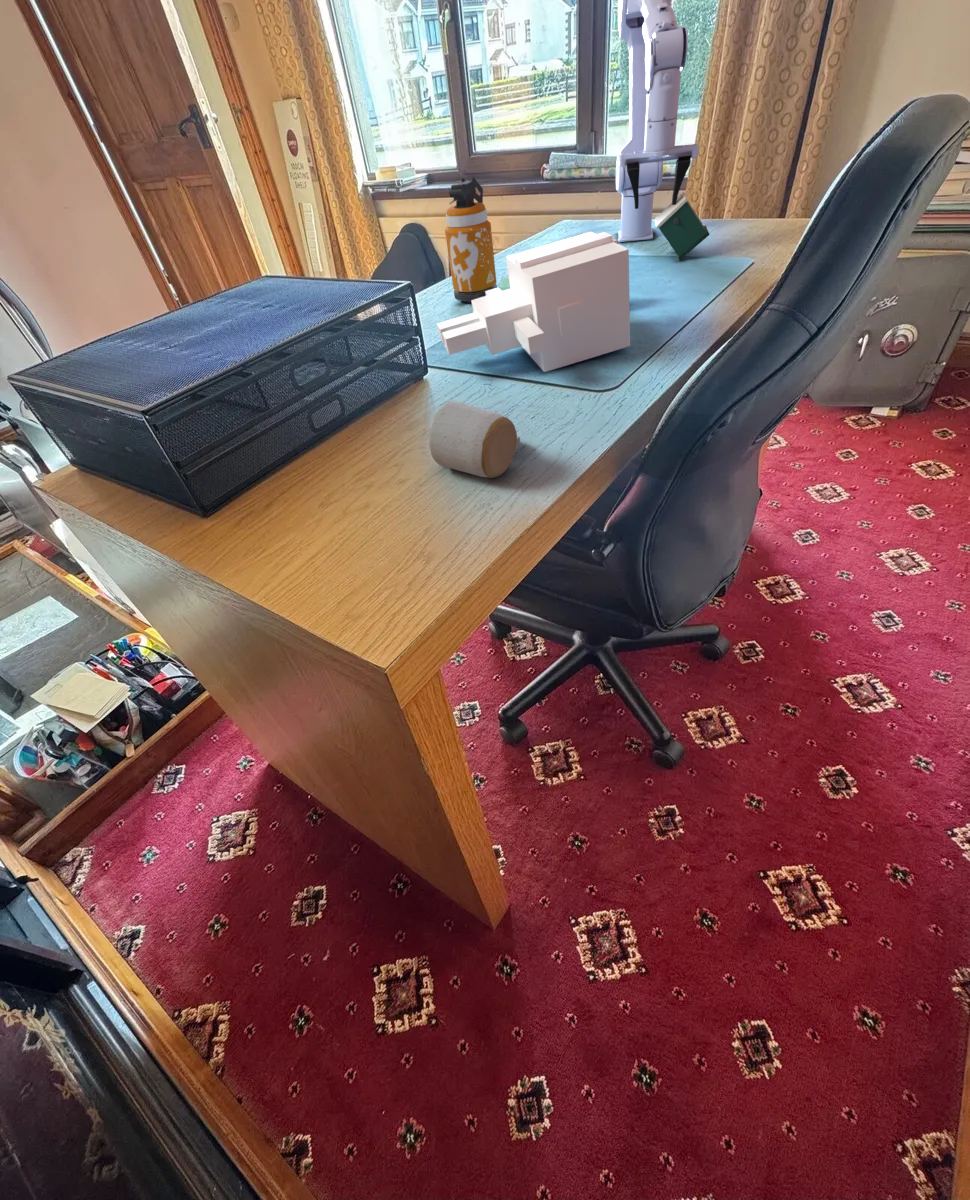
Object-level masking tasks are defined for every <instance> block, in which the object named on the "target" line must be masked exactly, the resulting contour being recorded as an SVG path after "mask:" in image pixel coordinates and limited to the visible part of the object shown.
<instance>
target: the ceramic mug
mask: <svg viewBox="0 0 970 1200" xmlns="http://www.w3.org/2000/svg"><path fill="white" fill-rule="evenodd" d="M433 416H434V417H433V418H432V421H431V424H430V428H429V433H428V444H429V445H428V446H429V452H430V454H431V457H432V459H433V461H434V462H435V463H436V464H437V465H439V466H442V467H445V468H449V469H451V470H455V471H458V472H463V473H468V474H471V475H473V476H478V477H481V478H487V479H488V478H490V479H494V478H497V477H499V476H501V475H503V474H504V473H505V472H506V471H507V470H508V468H509V467H510V465H511V464H512V462H513V460H514V457H515V454H516V452H517V451H518V450H519V448H520V444H521V437H520V436H519V435H518V433H517V429H516V426H515V424H514V423H513V421H512V420H511V419H510V418H509V417H507V416H505V415H504V414H501V413H498V412H497V411H492V410H488V409H484V408H481V407H479V406H474V405H472V404H468V403H465V402H463V401H458V400H449V401H447V402H445V403H443V405H441V406H440V407H439V408H438V410H437V411H436V413H435V414H434V415H433Z"/></svg>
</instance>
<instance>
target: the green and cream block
mask: <svg viewBox="0 0 970 1200" xmlns="http://www.w3.org/2000/svg"><path fill="white" fill-rule="evenodd" d="M686 195H687V194H686V192H684V191H682V192H681V193H680V194H678V196H677V201H676V205H672V202H671V203H669V205H668V206H666V208H664V209H663V210H662V211H661V212H660V213H659V214H658V215H657V216H656V217H655V218H654V223H655V228H656V229H658V230H659V231H660V233H662V235H663V237H664V238H665V239H666V241H667V243H669V246H670V247H671V248H672V250H673V251H674V252H675V254H676V257H677V259H678V261H679V262H680V261H681V260H683V259H684V258H685V257H686V256H687V255H688V254H689V253H691V252H692V251H693V250H694V249H695V248H696V247H698V246H699V245H700V244H701V243H702V242H703V241H704V240H705V239H707V238H708V237H709V236H710V231H709V230H708V227H707V224H705V223H703V222H702V221H701V219H700V217H699V216H698V214H697V212H696V211H695V209H694V208H693V206H692V205H691V204H690V202H689V200H688V198H687V196H686Z"/></svg>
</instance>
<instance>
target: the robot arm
mask: <svg viewBox="0 0 970 1200" xmlns="http://www.w3.org/2000/svg"><path fill="white" fill-rule="evenodd" d="M672 2H673V0H618V32H619V38H620V39H621V40H622V41H624V42H626V43H627V50H628V59H629V60H628V61H629V62H628V63H629V65H628V67H629V70H628V71H629V77H628V79H629V80H628V81H629V82H628V83H629V84H628V85H629V87H628V88H629V90H628V92H629V93H628V95H629V96H628V97H629V98H628V101H629V102H628V103H629V104H628V119H629V120H628V141H627V142H626V143H625V144H624V145H623V146H622V147H621V149H620V150H619V151H618V153H617V156H616V167H615V190H616V192H617V193H618V194H619V195H621V205H620V206H621V207H620V208H621V209H620V213H621V214H620V230H619V231H618V239H617V240H618V243H625V242H634V241H635V242H636V241H646V240H653V239H654V233H653V232H654V231H653V227H652V224H653V213H654V212H653V210H654V196H655V193H656V191H657V189H658V188H659V187H660V186H661V184H662V181H663V176H664V162H665V161H674V160H676V161H675V173H674V184H673V191H672V197H671V203H672V205H676V201H677V197H678V196H679V193H680V190H681V186H682V184H683V181H684V178H685V176H686V174H687V172H688V170H689V168H690V165H691V163H692V160H691V159H696V158H698V157H699V149H700V144H699V143H694V144H692V143H691V144H681V145H676V137H677V136H676V134H677V124H678V113H679V112H678V111H679V100H680V91H681V80H682V79H681V78H682V72H683V71H684V69H685V66H686V61H687V56H688V48H689V46H688V44H689V42H688V41H689V35H688V28H687V26H686V25H683V26H681V27H680V26H679V24H678V22H677V18H676V15H675V11H674V9H673V7H672Z"/></svg>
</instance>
